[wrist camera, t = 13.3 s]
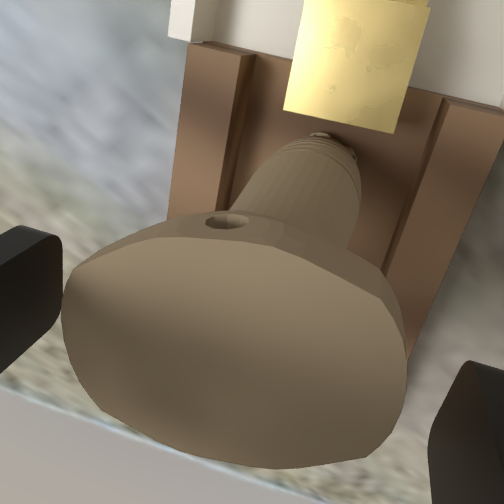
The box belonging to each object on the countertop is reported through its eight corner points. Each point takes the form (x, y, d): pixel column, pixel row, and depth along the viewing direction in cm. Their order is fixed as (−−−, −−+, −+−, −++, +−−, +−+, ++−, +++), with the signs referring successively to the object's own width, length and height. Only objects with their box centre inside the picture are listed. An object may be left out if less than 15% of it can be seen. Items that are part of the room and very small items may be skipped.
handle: (389, 219, 22) (392, 494, 9) (255, 211, 24) (84, 434, 10) (399, 111, 20) (424, 254, 7) (252, 110, 22) (38, 226, 8)
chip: (321, 0, 19) (307, -15, 16) (420, 19, 19) (431, 7, 15) (299, 102, 21) (282, 109, 17) (390, 121, 20) (393, 133, 17)
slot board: (217, 41, 23) (180, 41, 19) (495, 105, 21) (521, 121, 17) (175, 326, 30) (143, 370, 26) (376, 392, 28) (374, 450, 24)
